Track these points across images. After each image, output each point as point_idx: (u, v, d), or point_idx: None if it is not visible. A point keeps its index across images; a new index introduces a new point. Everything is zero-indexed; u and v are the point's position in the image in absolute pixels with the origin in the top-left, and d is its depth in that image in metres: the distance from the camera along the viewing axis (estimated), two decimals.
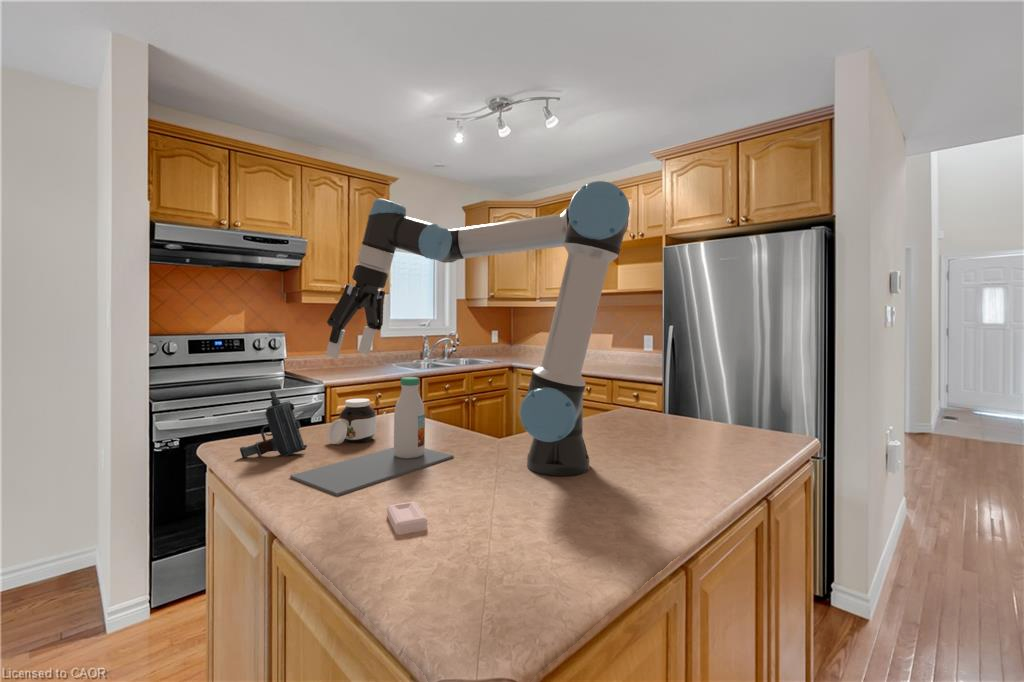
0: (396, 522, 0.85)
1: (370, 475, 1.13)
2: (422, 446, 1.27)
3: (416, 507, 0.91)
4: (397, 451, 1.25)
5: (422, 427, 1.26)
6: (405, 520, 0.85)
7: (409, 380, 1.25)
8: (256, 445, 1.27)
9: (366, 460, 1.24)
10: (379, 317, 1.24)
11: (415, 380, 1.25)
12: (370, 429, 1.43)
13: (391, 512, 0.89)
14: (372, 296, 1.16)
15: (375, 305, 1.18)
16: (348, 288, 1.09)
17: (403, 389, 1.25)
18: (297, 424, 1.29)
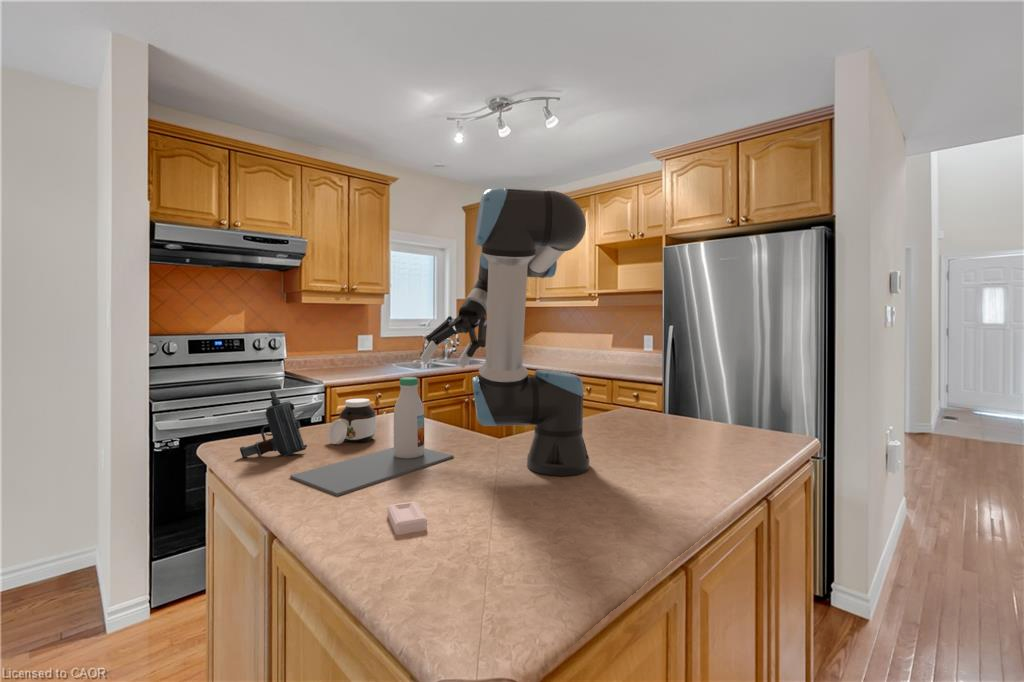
0: (396, 522, 0.85)
1: (370, 475, 1.13)
2: (422, 446, 1.27)
3: (416, 507, 0.91)
4: (397, 451, 1.25)
5: (422, 427, 1.26)
6: (405, 520, 0.85)
7: (408, 380, 1.25)
8: (256, 445, 1.27)
9: (366, 460, 1.24)
10: None
11: (414, 380, 1.26)
12: (370, 429, 1.43)
13: (391, 512, 0.89)
14: None
15: (468, 324, 1.40)
16: None
17: (402, 389, 1.26)
18: (297, 424, 1.29)
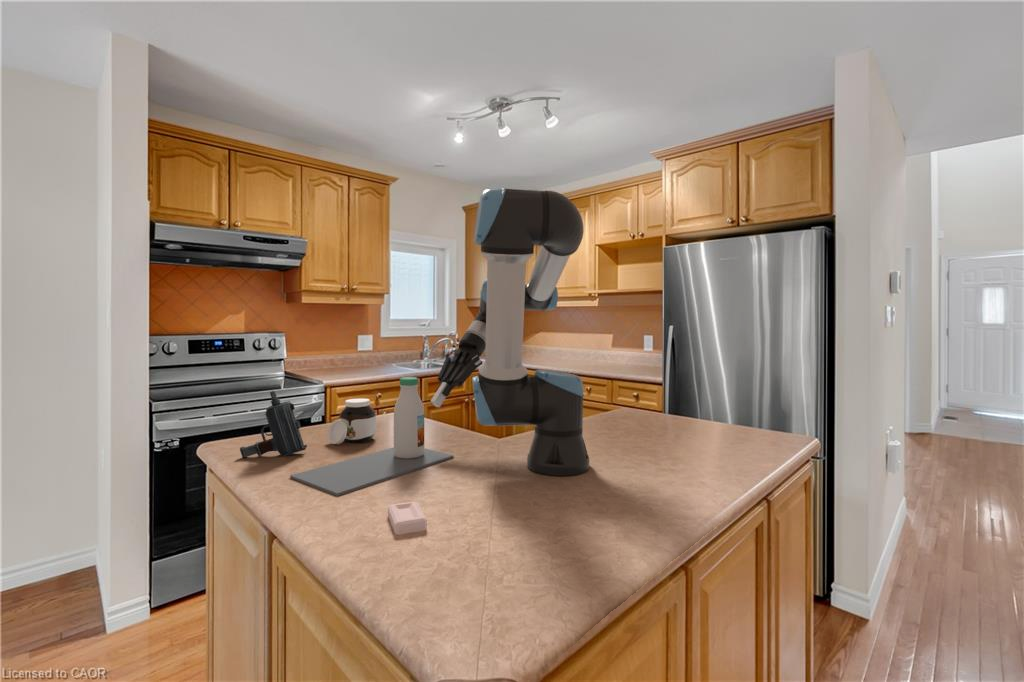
0: (395, 522, 0.85)
1: (370, 475, 1.13)
2: (422, 446, 1.27)
3: (416, 507, 0.91)
4: (397, 451, 1.25)
5: (422, 427, 1.26)
6: (404, 520, 0.85)
7: (408, 380, 1.25)
8: (256, 445, 1.27)
9: (366, 460, 1.24)
10: None
11: (414, 380, 1.26)
12: (370, 429, 1.43)
13: (391, 512, 0.89)
14: None
15: (461, 359, 1.41)
16: None
17: (402, 389, 1.26)
18: (297, 424, 1.29)
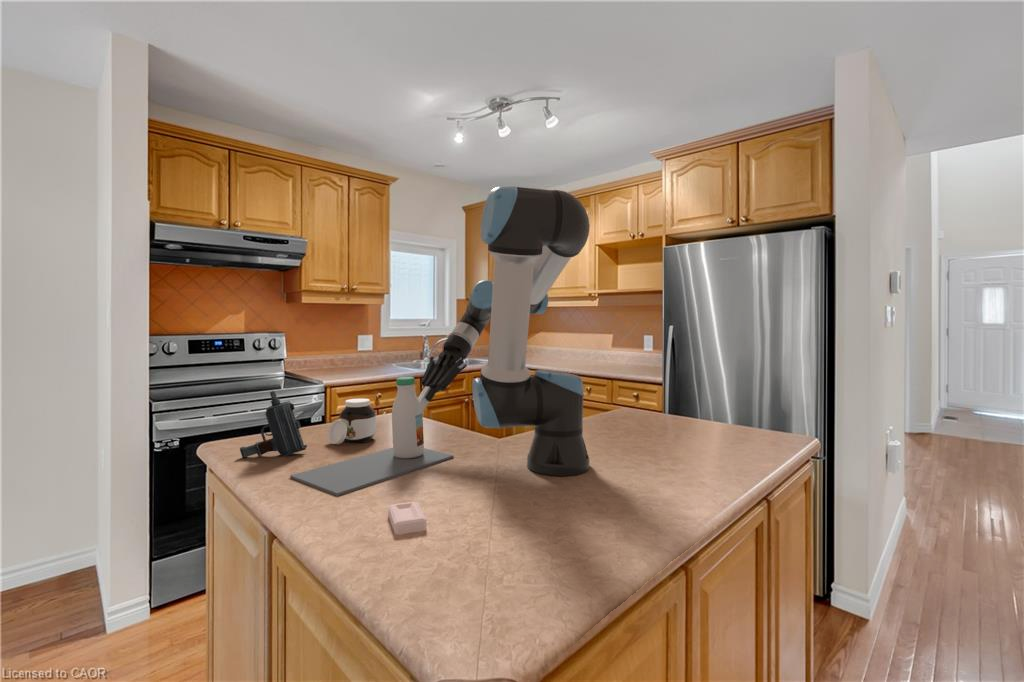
0: (395, 522, 0.85)
1: (370, 475, 1.13)
2: (421, 445, 1.27)
3: (417, 507, 0.91)
4: (397, 451, 1.25)
5: (420, 426, 1.26)
6: (404, 520, 0.85)
7: (404, 380, 1.24)
8: (256, 445, 1.27)
9: (366, 460, 1.24)
10: None
11: (410, 380, 1.25)
12: (370, 429, 1.43)
13: (391, 512, 0.89)
14: None
15: (444, 363, 1.37)
16: None
17: (399, 389, 1.25)
18: (297, 424, 1.29)
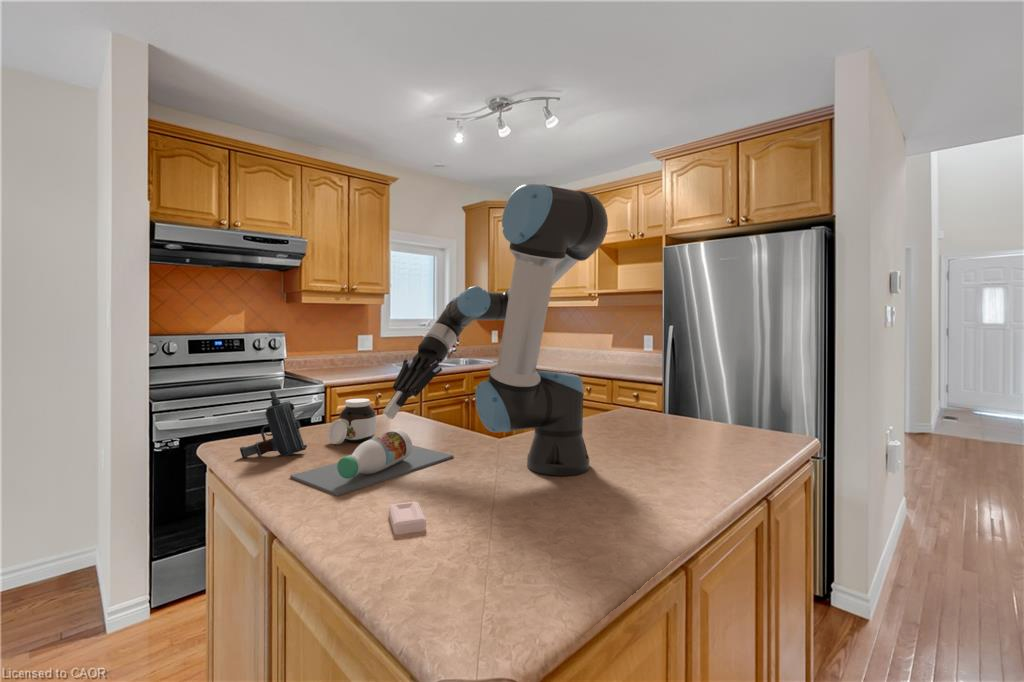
0: (395, 522, 0.85)
1: (370, 475, 1.13)
2: (406, 447, 1.20)
3: (417, 507, 0.91)
4: None
5: (394, 454, 1.16)
6: (404, 520, 0.85)
7: (350, 477, 1.06)
8: (256, 445, 1.27)
9: None
10: None
11: (354, 472, 1.06)
12: (370, 429, 1.43)
13: (391, 511, 0.89)
14: None
15: (418, 366, 1.28)
16: None
17: None
18: (297, 424, 1.29)
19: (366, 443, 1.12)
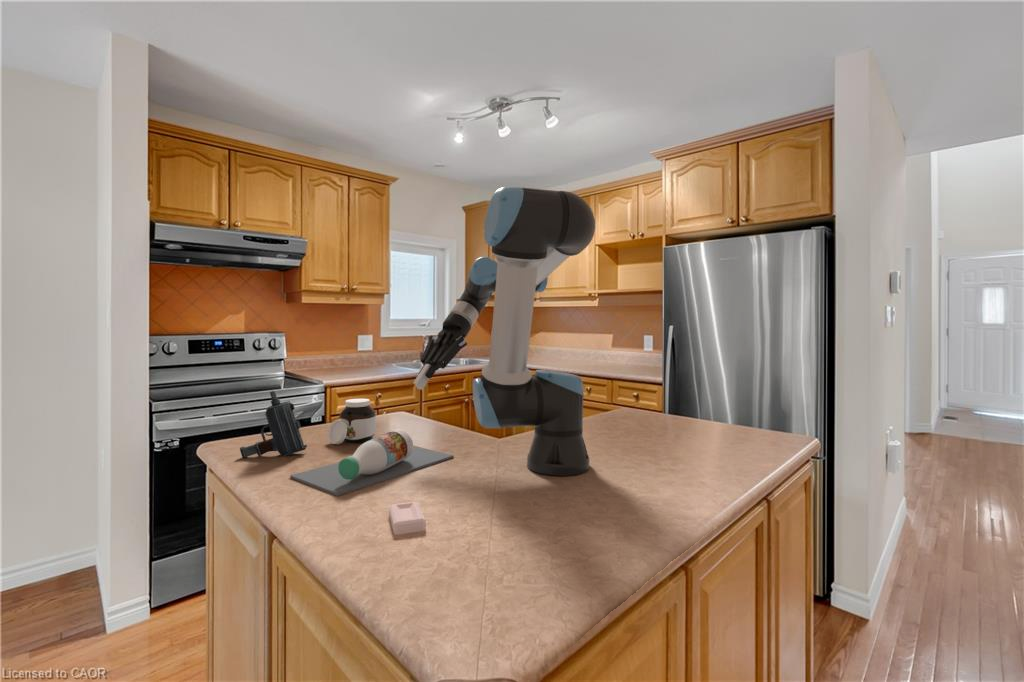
0: (394, 522, 0.85)
1: (370, 475, 1.13)
2: (407, 449, 1.20)
3: (417, 507, 0.91)
4: None
5: (395, 455, 1.16)
6: (403, 520, 0.85)
7: (350, 478, 1.06)
8: (256, 445, 1.27)
9: None
10: None
11: (355, 474, 1.05)
12: (370, 429, 1.43)
13: (392, 511, 0.89)
14: None
15: (444, 340, 1.36)
16: None
17: None
18: (297, 424, 1.29)
19: (368, 444, 1.12)
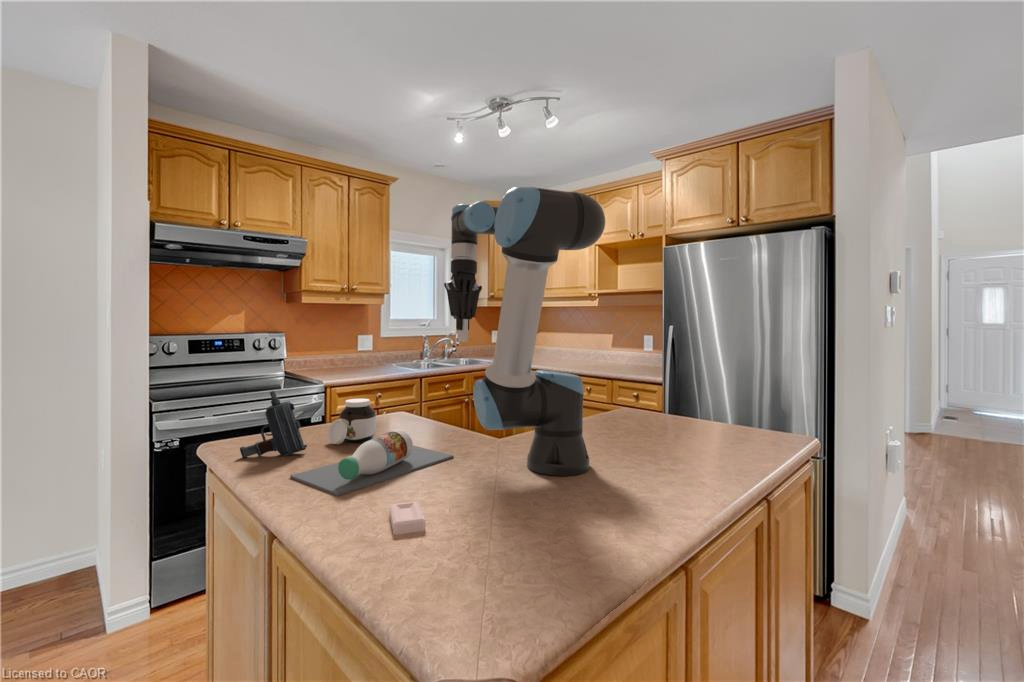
0: (394, 522, 0.85)
1: (370, 475, 1.13)
2: (407, 449, 1.20)
3: (417, 507, 0.91)
4: None
5: (395, 455, 1.16)
6: (403, 520, 0.85)
7: (350, 478, 1.06)
8: (256, 445, 1.27)
9: None
10: (473, 307, 1.46)
11: (354, 474, 1.05)
12: (370, 429, 1.43)
13: (392, 511, 0.89)
14: (469, 281, 1.44)
15: (470, 291, 1.44)
16: (446, 286, 1.40)
17: None
18: (297, 424, 1.29)
19: (368, 444, 1.12)
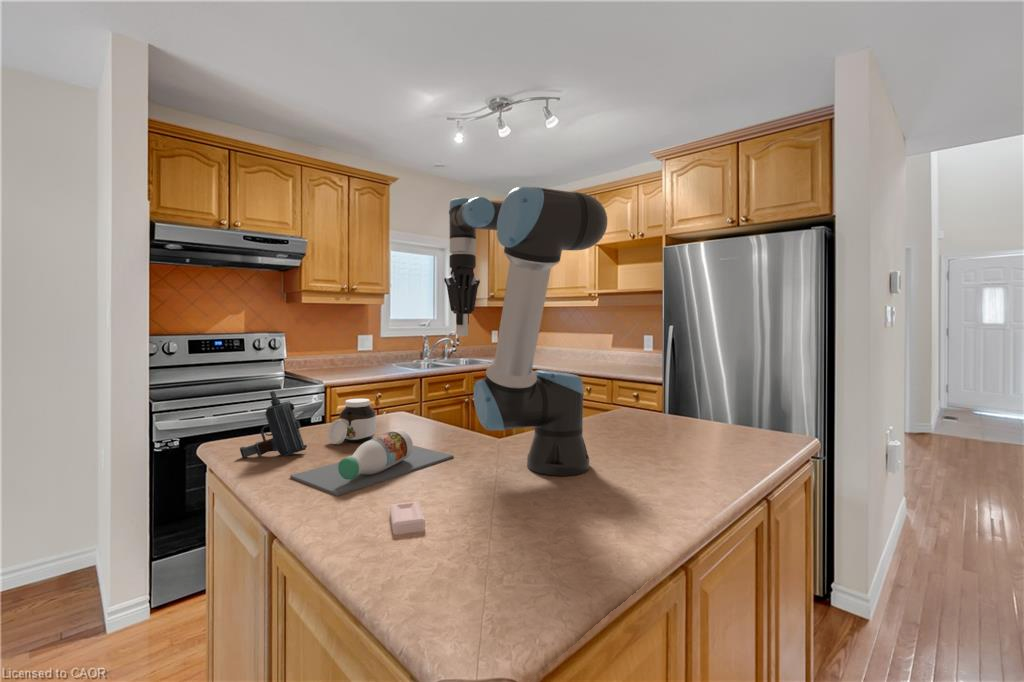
0: (393, 522, 0.85)
1: (370, 475, 1.13)
2: (407, 449, 1.20)
3: (417, 507, 0.91)
4: None
5: (395, 455, 1.16)
6: (402, 520, 0.85)
7: (350, 478, 1.06)
8: (256, 445, 1.27)
9: None
10: (472, 301, 1.46)
11: (354, 474, 1.05)
12: (370, 429, 1.43)
13: (392, 511, 0.89)
14: (468, 275, 1.44)
15: (469, 286, 1.44)
16: (446, 281, 1.39)
17: None
18: (297, 424, 1.29)
19: (368, 444, 1.12)
